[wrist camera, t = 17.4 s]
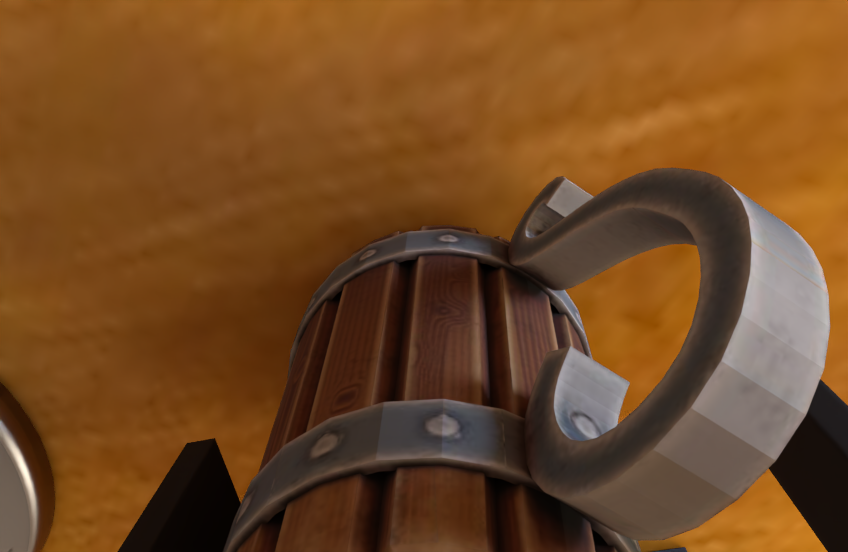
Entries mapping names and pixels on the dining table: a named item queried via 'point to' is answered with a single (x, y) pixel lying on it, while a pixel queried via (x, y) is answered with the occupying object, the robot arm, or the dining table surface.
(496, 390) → the mug
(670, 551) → the tray
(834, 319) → the dining table surface
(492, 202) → the dining table surface
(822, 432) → the robot arm
